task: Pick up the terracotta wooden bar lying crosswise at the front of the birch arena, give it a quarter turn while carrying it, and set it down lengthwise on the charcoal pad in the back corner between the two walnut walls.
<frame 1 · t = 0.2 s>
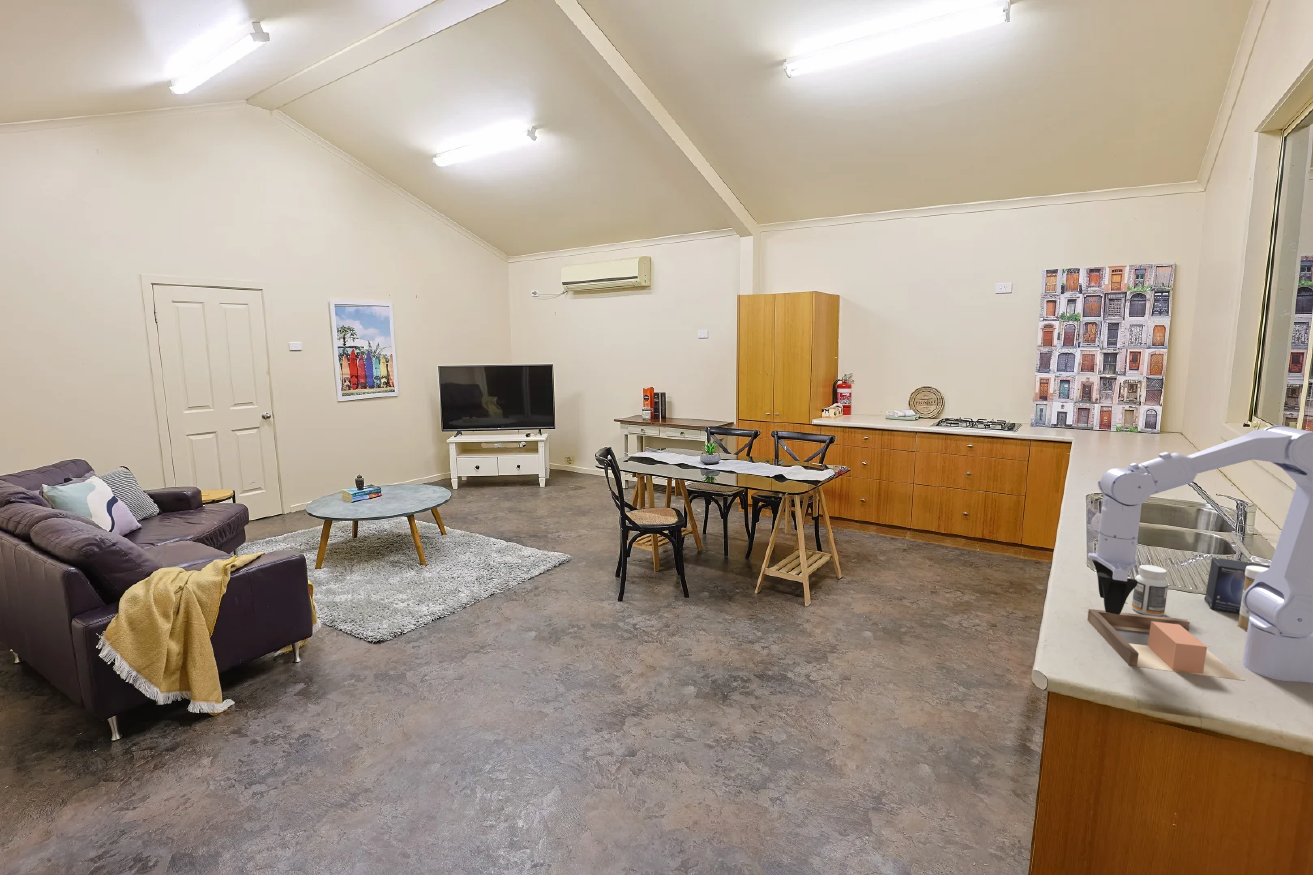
hand: (1109, 605, 114), 10 cm above the counter, tool pointing down, fingers open, 7 cm apart
terracotta bar: (1174, 659, 112), point 1 cm above the counter, touching arena
arena: (1157, 652, 117), on the counter
pill bottle: (1147, 612, 135), on the counter
sprinkles bottle: (1251, 632, 126), on the counter
small box: (1238, 611, 137), on the counter
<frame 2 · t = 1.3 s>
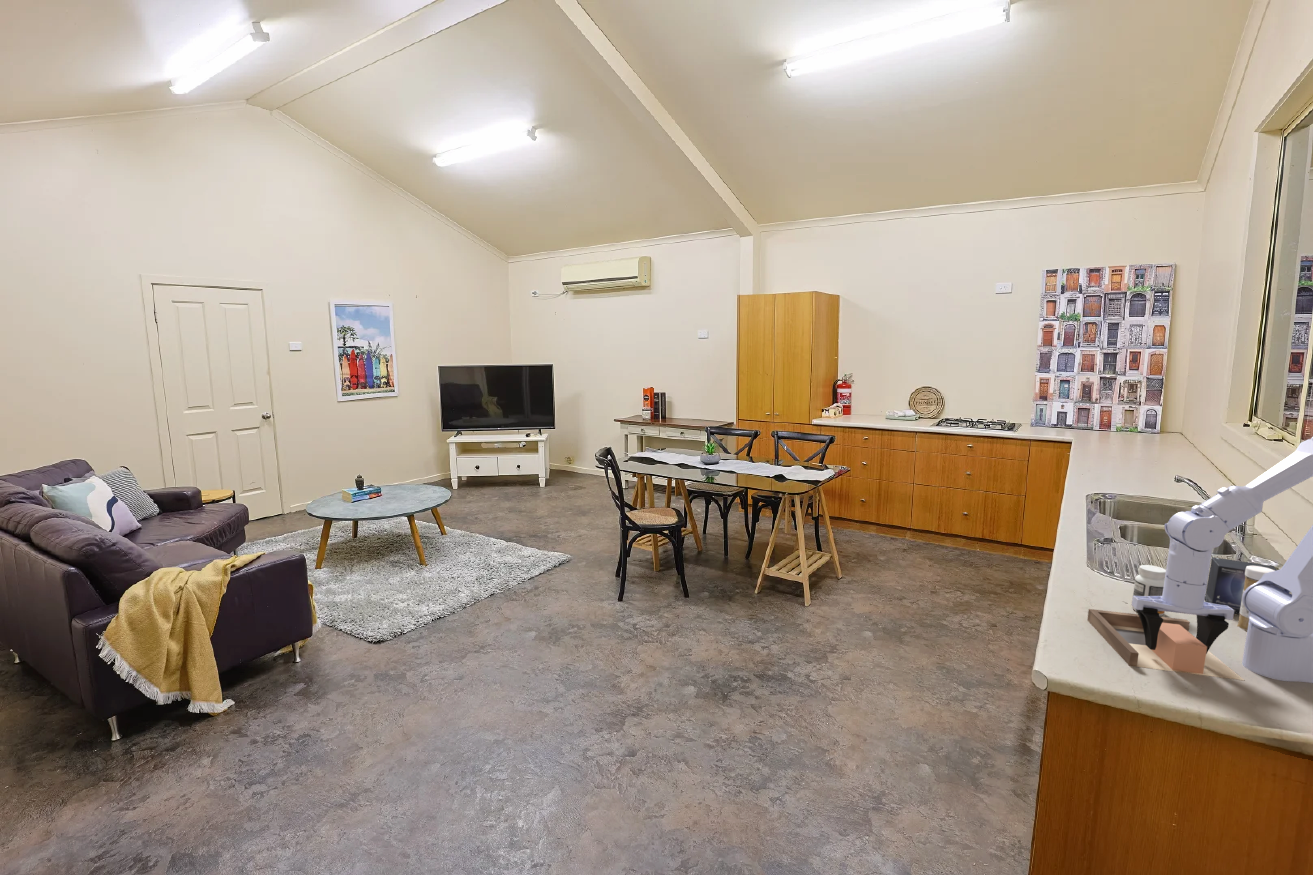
hand: (1174, 650, 112), 3 cm above the counter, tool pointing down, fingers open, 7 cm apart
nothing on the counter moved.
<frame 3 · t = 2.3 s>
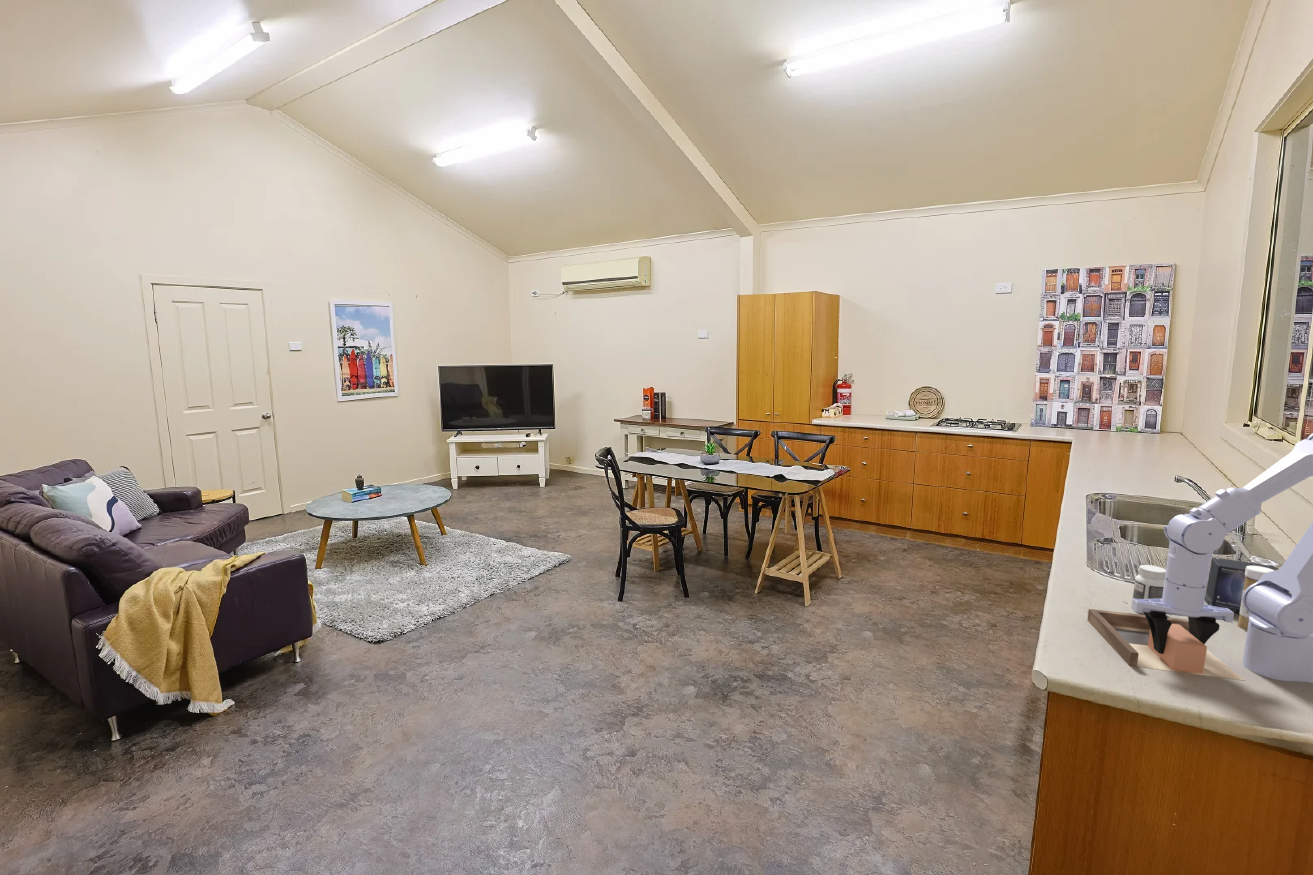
hand: (1175, 653, 112), 2 cm above the counter, tool pointing down, fingers closed on terracotta bar, 4 cm apart
terracotta bar: (1174, 659, 112), point 1 cm above the counter, touching arena, gripper
everything else where it was.
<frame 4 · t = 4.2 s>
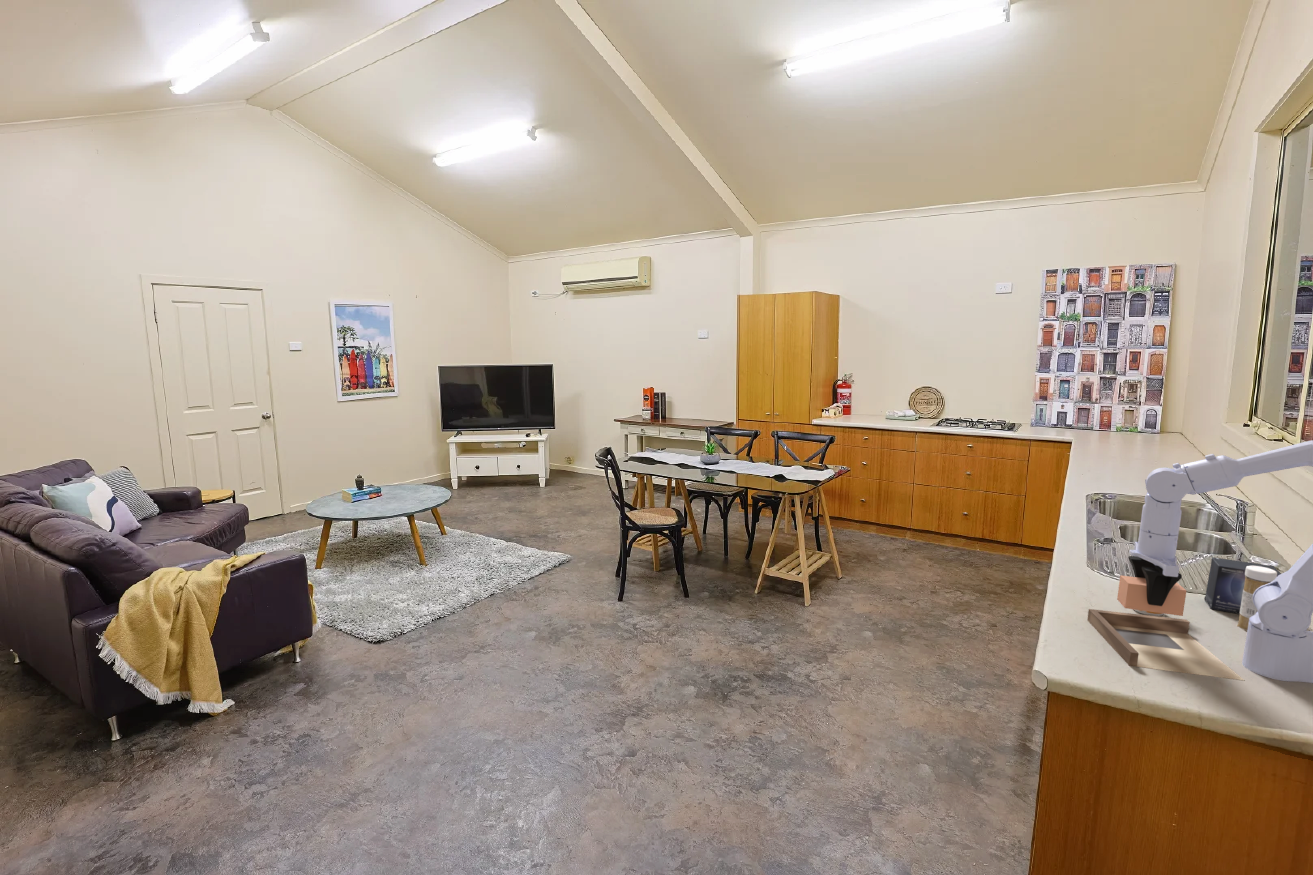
hand: (1149, 599, 119), 9 cm above the counter, tool pointing down, fingers closed on terracotta bar, 4 cm apart
terracotta bar: (1148, 607, 119), point 8 cm above the counter, touching gripper
everything else where it was.
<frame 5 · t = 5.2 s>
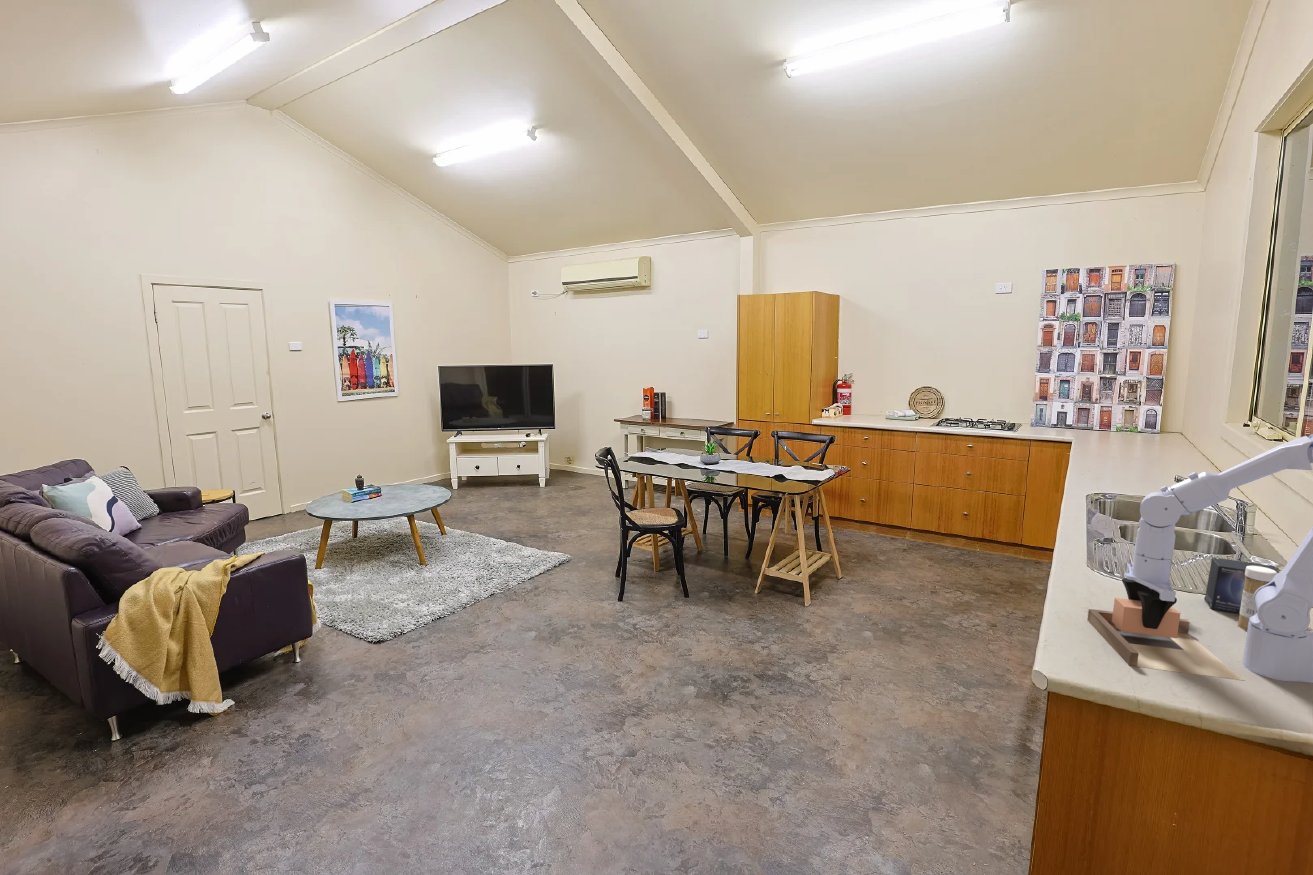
hand: (1143, 621, 120), 4 cm above the counter, tool pointing down, fingers closed on terracotta bar, 4 cm apart
terracotta bar: (1143, 629, 120), point 3 cm above the counter, touching gripper
everything else where it was.
when the fingers open (4 cm above the counter, at t = 6.2 s): terracotta bar drops 1 cm, resting on arena.
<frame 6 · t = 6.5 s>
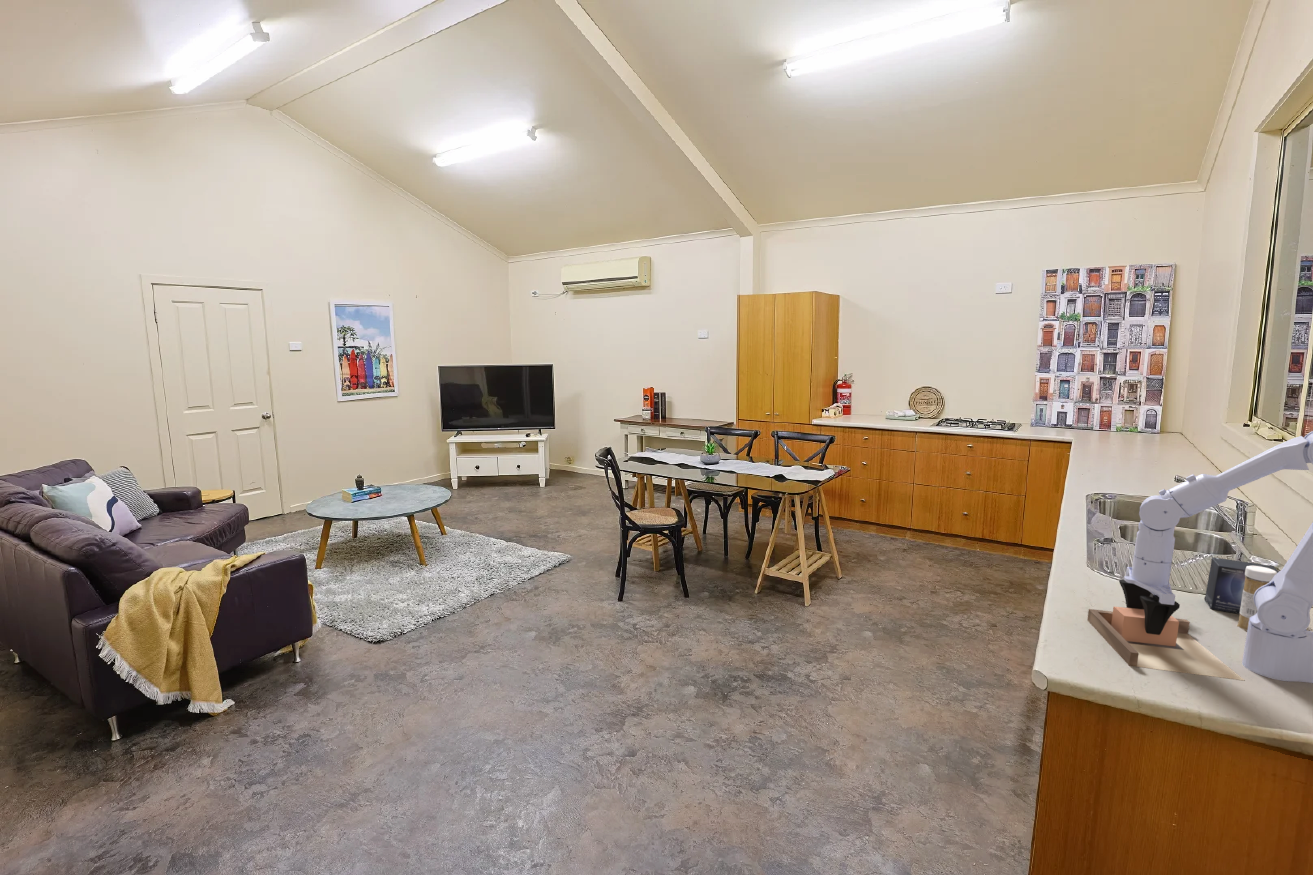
hand: (1143, 625, 120), 4 cm above the counter, tool pointing down, fingers open, 7 cm apart
terracotta bar: (1142, 637, 121), point 1 cm above the counter, touching arena
everything else where it was.
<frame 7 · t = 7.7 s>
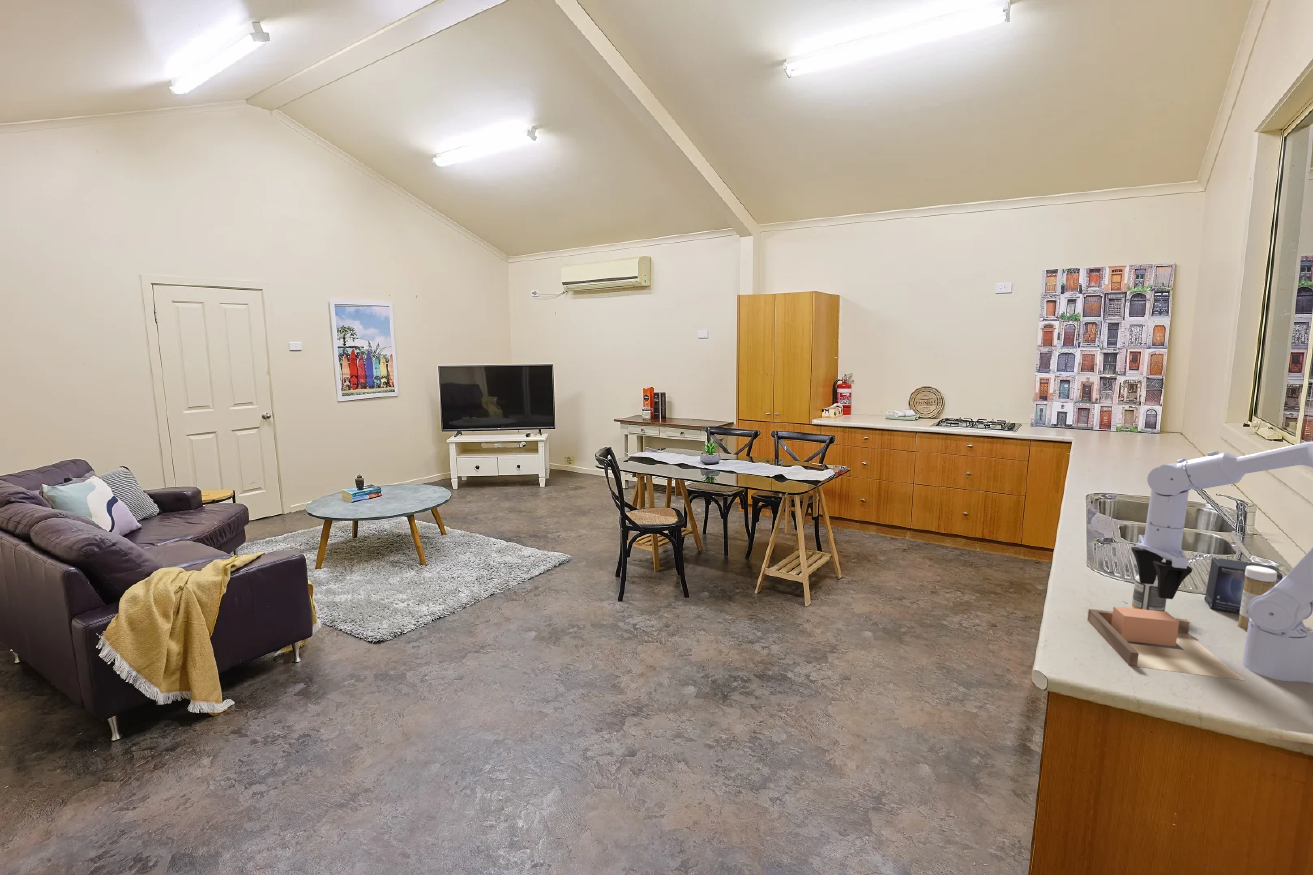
hand: (1155, 590, 123), 9 cm above the counter, tool pointing down, fingers open, 7 cm apart
nothing on the counter moved.
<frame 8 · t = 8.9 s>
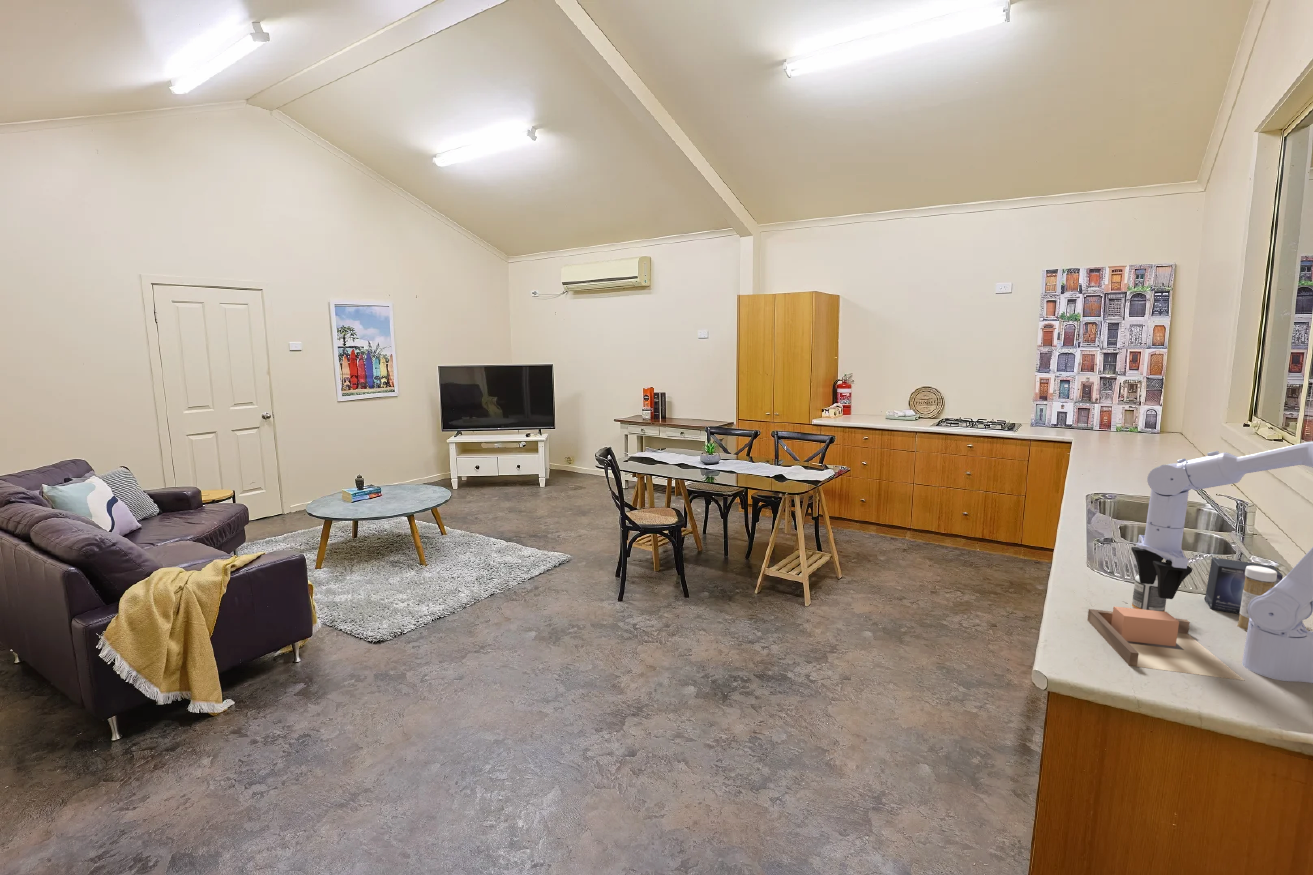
hand: (1155, 590, 123), 9 cm above the counter, tool pointing down, fingers open, 7 cm apart
nothing on the counter moved.
at the end: terracotta bar 0.1 cm from the target spot on the arena, point 1.0 cm above the arena's base; terracotta bar tilted 0°; the gripper is holding nothing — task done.
